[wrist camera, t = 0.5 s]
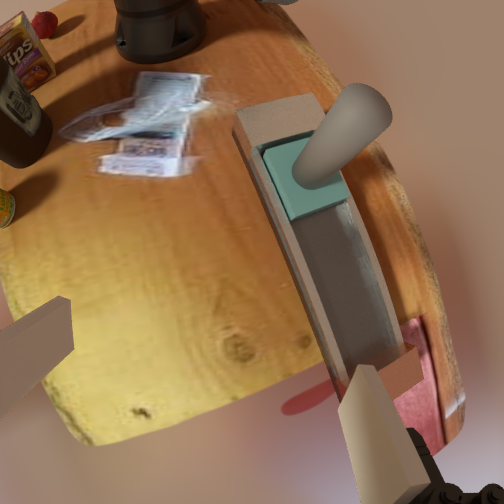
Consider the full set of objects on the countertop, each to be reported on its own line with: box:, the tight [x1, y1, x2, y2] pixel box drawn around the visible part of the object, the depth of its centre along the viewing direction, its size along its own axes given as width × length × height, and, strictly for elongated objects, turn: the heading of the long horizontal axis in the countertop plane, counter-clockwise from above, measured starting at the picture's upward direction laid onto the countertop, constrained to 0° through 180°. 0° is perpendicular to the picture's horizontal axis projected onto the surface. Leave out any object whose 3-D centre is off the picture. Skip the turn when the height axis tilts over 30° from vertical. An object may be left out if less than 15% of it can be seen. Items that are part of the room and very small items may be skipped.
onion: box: [31, 11, 58, 39], centre depth 30 cm, size 6×6×8 cm
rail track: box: [232, 92, 424, 404], centre depth 33 cm, size 38×10×6 cm, turn 22°
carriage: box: [262, 83, 392, 222], centre depth 25 cm, size 8×7×17 cm
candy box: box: [0, 11, 56, 93], centre depth 26 cm, size 9×4×15 cm, turn 116°
